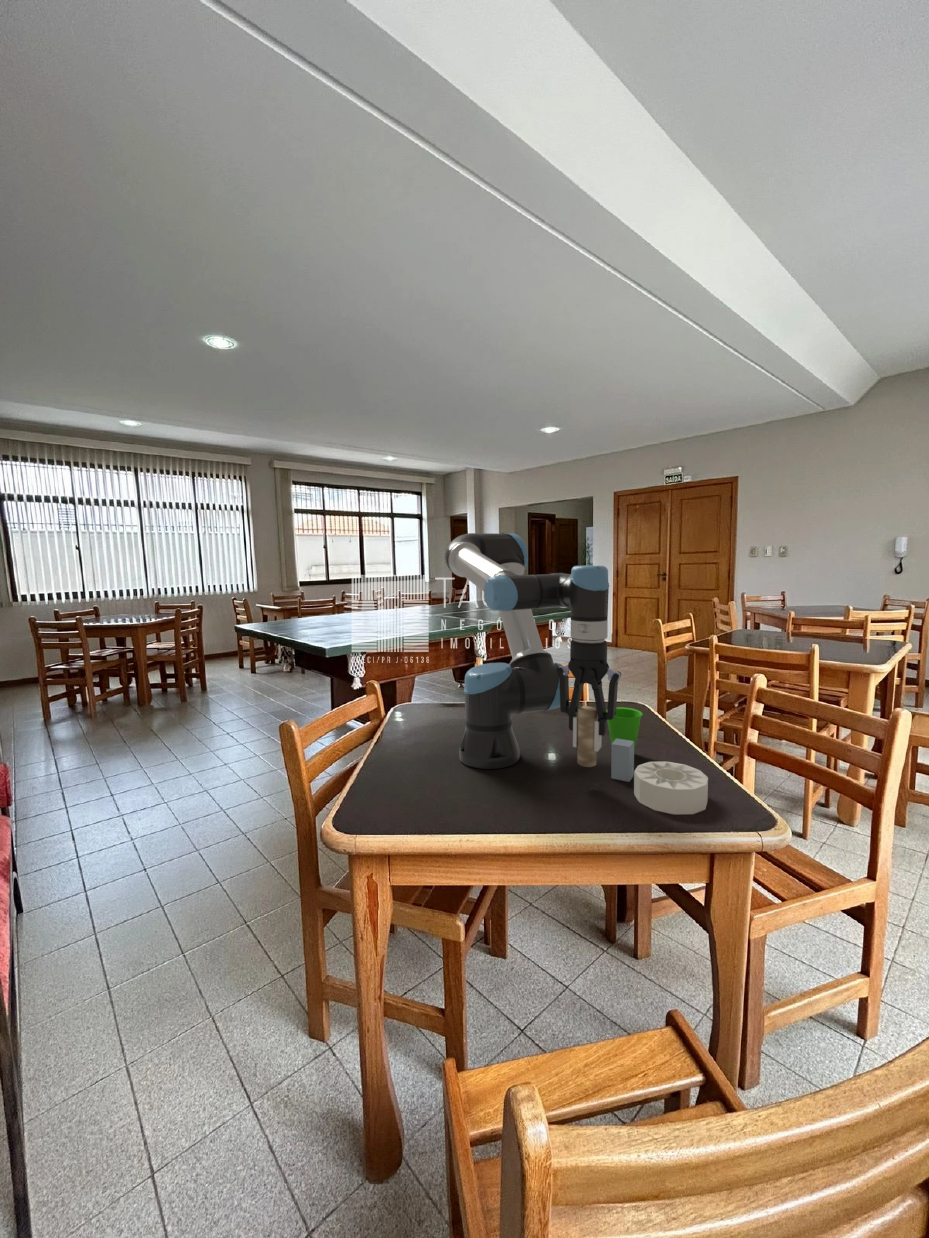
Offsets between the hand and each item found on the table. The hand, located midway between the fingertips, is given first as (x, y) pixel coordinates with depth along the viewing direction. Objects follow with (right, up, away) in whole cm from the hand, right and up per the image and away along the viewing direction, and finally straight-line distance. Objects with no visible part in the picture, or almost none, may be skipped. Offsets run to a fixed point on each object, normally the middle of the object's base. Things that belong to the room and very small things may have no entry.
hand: (587, 746), depth 108 cm
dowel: (0, -4, +1) cm, 4 cm away
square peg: (+9, -8, +6) cm, 14 cm away
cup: (+14, -7, +18) cm, 24 cm away
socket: (+16, -9, -5) cm, 19 cm away
